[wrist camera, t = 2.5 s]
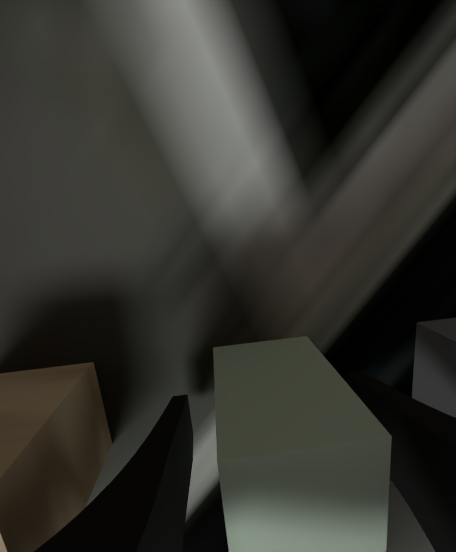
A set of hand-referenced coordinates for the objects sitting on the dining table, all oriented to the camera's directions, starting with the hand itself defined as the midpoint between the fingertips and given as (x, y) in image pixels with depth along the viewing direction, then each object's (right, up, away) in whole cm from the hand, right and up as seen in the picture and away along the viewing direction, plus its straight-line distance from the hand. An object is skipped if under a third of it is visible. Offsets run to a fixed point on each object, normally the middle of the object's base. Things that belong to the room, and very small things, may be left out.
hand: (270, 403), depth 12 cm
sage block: (0, 0, +1) cm, 2 cm away
